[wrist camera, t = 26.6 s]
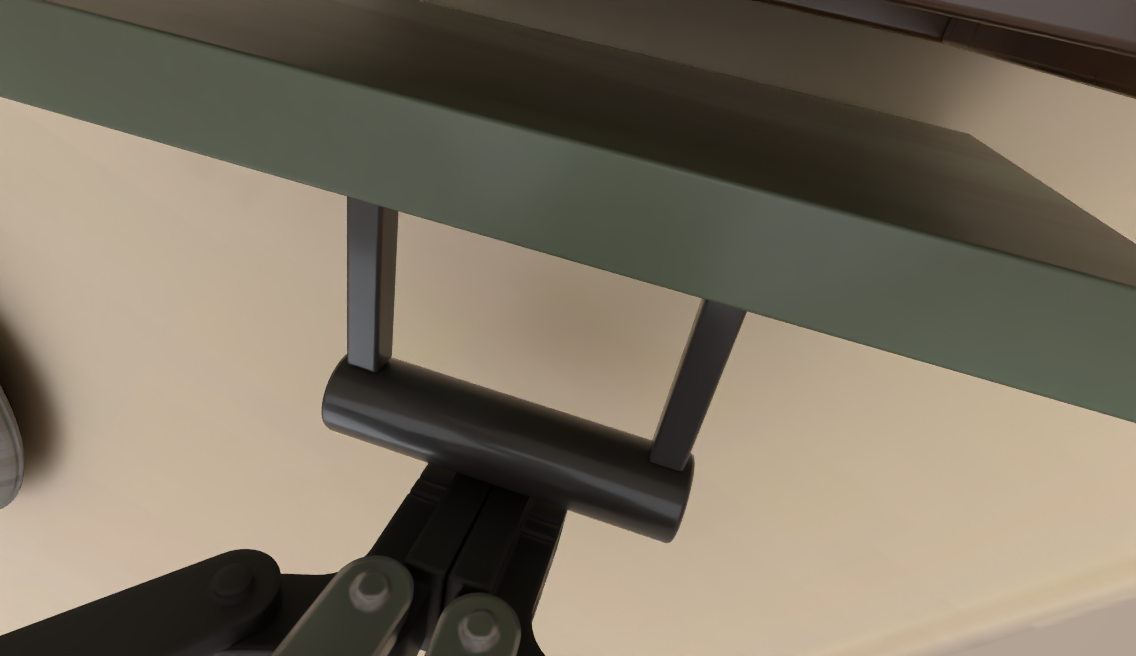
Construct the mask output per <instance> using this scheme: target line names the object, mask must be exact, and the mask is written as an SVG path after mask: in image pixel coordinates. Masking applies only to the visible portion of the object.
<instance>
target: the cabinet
mask: <svg viewBox="0 0 1136 656" xmlns="http://www.w3.org/2000/svg"><path fill="white" fill-rule="evenodd" d="M878 1H882V2H887V3H891V4H896V5H900V6H905V7H909V8H914V9H918V10H923V11H927V12H932V13H937V14H941V15H946V16H950V17H955V18H959V19H964V20H968V21H973V22H977V23H982V24H986V25H991V26H995V27H1000V28H1004V29H1009V30H1014V31H1018V32H1023V33H1027V34H1032V35H1036V36H1041V37H1045V38H1050V39H1054V40H1059V41H1063V42H1068V43H1072V44H1077V45H1081V46H1086V47H1090V48H1095V49H1100V50H1104V51H1109V52H1113V53H1118V54H1122V55H1127V56H1131V57H1136V0H878Z"/></svg>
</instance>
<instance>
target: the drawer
mask: <svg viewBox="0 0 1136 656" xmlns="http://www.w3.org/2000/svg"><path fill="white" fill-rule="evenodd" d="M753 1H757V2H761V3H766V4H770V5H775V6H779V7H784V8H788V9H792V10H797V11H801V12H806V13H810V14H814V15H819V16H823V17H828V18H832V19H837V20H841V21H845V22H850V23H854V24H859V25H863V26H868V27H872V28H876V29H881V30H885V31H890V32H894V33H898V34H903V35H907V36H912V37H916V38H921V39H925V40H929V41H934V42H938V43H943V44H946V45H950V46H953V47H956V48H960V49H963V50H967V51H970V52H974V53H977V54H981V55H984V56H988V57H991V58H995V59H998V60H1002V61H1005V62H1009V63H1012V64H1016V65H1019V66H1022V67H1026V68H1029V69H1033V70H1036V71H1040V72H1043V73H1047V74H1050V75H1054V76H1057V77H1061V78H1064V79H1068V80H1071V81H1075V82H1078V83H1082V84H1085V85H1088V86H1092V87H1095V88H1099V89H1102V90H1106V91H1109V92H1113V93H1116V94H1120V95H1123V96H1127V97H1130V98H1134V99H1136V57H1131V56H1127V55H1122V54H1118V53H1113V52H1109V51H1104V50H1100V49H1095V48H1090V47H1086V46H1081V45H1077V44H1072V43H1068V42H1063V41H1059V40H1054V39H1050V38H1045V37H1041V36H1036V35H1032V34H1027V33H1023V32H1018V31H1014V30H1009V29H1004V28H1000V27H995V26H991V25H986V24H982V23H977V22H973V21H968V20H964V19H959V18H955V17H950V16H946V15H941V14H937V13H932V12H927V11H923V10H918V9H914V8H909V7H905V6H900V5H896V4H891V3H887V2H882V1H878V0H753ZM0 97H3V98H7V99H10V100H14V101H17V102H21V103H24V104H28V105H31V106H35V107H38V108H42V109H45V110H49V111H52V112H56V113H59V114H63V115H66V116H70V117H73V118H77V119H80V120H83V121H87V122H90V123H94V124H97V125H101V126H104V127H108V128H111V129H115V130H118V131H122V132H125V133H129V134H132V135H136V136H139V137H143V138H146V139H150V140H153V141H157V142H160V143H164V144H167V145H170V146H174V147H177V148H181V149H184V150H188V151H191V152H195V153H198V154H202V155H205V156H209V157H212V158H216V159H219V160H223V161H226V162H230V163H233V164H237V165H240V166H244V167H247V168H251V169H254V170H257V171H261V172H264V173H268V174H271V175H275V176H278V177H282V178H285V179H289V180H292V181H296V182H299V183H303V184H306V185H310V186H313V187H317V188H320V189H324V190H327V191H331V192H334V193H338V194H341V195H344V196H347V354H346V355H345V356H344V357H343V358H342V359H341V361H340V362H339V363H338V365H337V366H336V368H335V369H334V371H333V373H332V375H331V377H330V379H329V381H328V384H327V387H326V390H325V393H324V397H323V402H322V419H323V422H324V424H325V425H326V426H327V427H328V428H329V429H330V430H333V431H336V432H339V433H342V434H344V435H347V436H350V437H353V438H356V439H359V440H362V441H365V442H368V443H371V444H374V445H377V446H380V447H383V448H386V449H389V450H392V451H395V452H398V453H401V454H404V455H407V456H410V457H413V458H415V459H418V460H421V461H424V462H427V463H430V464H433V465H436V466H439V467H442V468H445V469H448V470H451V471H454V472H457V473H460V474H463V475H466V476H469V477H472V478H475V479H478V480H481V481H483V482H486V483H489V484H492V485H495V486H498V487H501V488H504V489H507V490H510V491H513V492H516V493H519V494H522V495H525V496H528V497H531V498H534V499H537V500H540V501H543V502H546V503H549V504H551V505H554V506H557V507H560V508H563V509H566V510H569V511H572V512H575V513H578V514H581V515H584V516H587V517H590V518H593V519H596V520H599V521H602V522H605V523H608V524H611V525H614V526H617V527H619V528H622V529H625V530H628V531H631V532H634V533H637V534H640V535H643V536H646V537H649V538H652V539H655V540H658V541H661V542H664V543H670V542H671V541H672V540H673V539H674V537H675V535H676V533H677V531H678V529H679V527H680V524H681V521H682V518H683V515H684V512H685V509H686V506H687V502H688V498H689V494H690V490H691V486H692V481H693V475H694V467H695V461H694V456H693V455H692V454H691V450H692V448H693V445H694V443H695V440H696V438H697V435H698V433H699V430H700V428H701V425H702V423H703V420H704V418H705V415H706V413H707V410H708V408H709V405H710V403H711V400H712V398H713V395H714V393H715V390H716V388H717V385H718V383H719V380H720V378H721V375H722V373H723V370H724V368H725V365H726V363H727V360H728V358H729V355H730V353H731V350H732V348H733V345H734V343H735V340H736V338H737V335H738V333H739V330H740V328H741V325H742V323H743V320H744V318H745V315H746V313H747V311H748V312H752V313H755V314H759V315H762V316H766V317H769V318H772V319H776V320H779V321H783V322H786V323H790V324H793V325H797V326H800V327H804V328H807V329H811V330H814V331H818V332H821V333H825V334H828V335H832V336H835V337H839V338H842V339H846V340H849V341H853V342H856V343H859V344H863V345H866V346H870V347H873V348H877V349H880V350H884V351H887V352H891V353H894V354H898V355H901V356H905V357H908V358H912V359H915V360H919V361H922V362H926V363H929V364H933V365H936V366H940V367H943V368H946V369H950V370H953V371H957V372H960V373H964V374H967V375H971V376H974V377H978V378H981V379H985V380H988V381H992V382H995V383H999V384H1002V385H1006V386H1009V387H1013V388H1016V389H1020V390H1023V391H1027V392H1030V393H1033V394H1037V395H1040V396H1044V397H1047V398H1051V399H1054V400H1058V401H1061V402H1065V403H1068V404H1072V405H1075V406H1079V407H1082V408H1086V409H1089V410H1093V411H1096V412H1100V413H1103V414H1107V415H1110V416H1114V417H1117V418H1120V419H1124V420H1127V421H1131V422H1134V423H1136V244H1135V243H1133V242H1132V241H1130V240H1129V239H1127V238H1126V237H1124V236H1123V235H1121V234H1120V233H1118V232H1117V231H1115V230H1114V229H1112V228H1111V227H1109V226H1107V225H1106V224H1104V223H1103V222H1101V221H1100V220H1098V219H1097V218H1095V217H1094V216H1092V215H1091V214H1089V213H1088V212H1086V211H1085V210H1083V209H1082V208H1080V207H1079V206H1077V205H1076V204H1074V203H1073V202H1071V201H1070V200H1068V199H1067V198H1065V197H1064V196H1062V195H1061V194H1059V193H1058V192H1056V191H1055V190H1053V189H1051V188H1050V187H1048V186H1047V185H1045V184H1044V183H1042V182H1041V181H1039V180H1038V179H1036V178H1035V177H1033V176H1032V175H1030V174H1029V173H1027V172H1026V171H1024V170H1023V169H1021V168H1020V167H1018V166H1017V165H1015V164H1014V163H1012V162H1011V161H1009V160H1008V159H1006V158H1005V157H1003V156H1002V155H1000V154H999V153H997V152H995V151H994V150H992V149H991V148H989V147H988V146H986V145H985V144H983V143H982V142H980V141H979V140H977V139H976V138H974V137H973V136H971V135H970V134H967V133H963V132H959V131H955V130H950V129H946V128H942V127H938V126H934V125H930V124H926V123H922V122H917V121H913V120H909V119H905V118H901V117H897V116H893V115H889V114H884V113H880V112H876V111H872V110H868V109H864V108H860V107H855V106H851V105H847V104H843V103H839V102H835V101H831V100H827V99H822V98H818V97H814V96H810V95H806V94H802V93H798V92H794V91H789V90H785V89H781V88H777V87H773V86H769V85H765V84H760V83H756V82H752V81H748V80H744V79H740V78H736V77H732V76H727V75H723V74H719V73H715V72H711V71H707V70H703V69H699V68H694V67H690V66H686V65H682V64H678V63H674V62H670V61H665V60H661V59H657V58H653V57H649V56H645V55H641V54H637V53H632V52H628V51H624V50H620V49H616V48H612V47H608V46H604V45H599V44H595V43H591V42H587V41H583V40H579V39H575V38H570V37H566V36H562V35H558V34H554V33H550V32H546V31H542V30H537V29H533V28H529V27H525V26H521V25H517V24H513V23H509V22H504V21H500V20H496V19H492V18H488V17H484V16H480V15H475V14H471V13H467V12H463V11H459V10H455V9H451V8H447V7H442V6H438V5H434V4H430V3H426V2H422V1H418V0H0ZM398 211H400V212H404V213H407V214H411V215H414V216H418V217H421V218H424V219H428V220H431V221H435V222H438V223H442V224H445V225H449V226H452V227H456V228H459V229H463V230H466V231H470V232H473V233H477V234H480V235H484V236H487V237H491V238H494V239H498V240H501V241H505V242H508V243H511V244H515V245H518V246H522V247H525V248H529V249H532V250H536V251H539V252H543V253H546V254H550V255H553V256H557V257H560V258H564V259H567V260H571V261H574V262H578V263H581V264H585V265H588V266H592V267H595V268H598V269H602V270H605V271H609V272H612V273H616V274H619V275H623V276H626V277H630V278H633V279H637V280H640V281H644V282H647V283H651V284H654V285H658V286H661V287H665V288H668V289H672V290H675V291H679V292H682V293H685V294H689V295H692V296H696V297H699V298H702V300H701V302H700V305H699V308H698V311H697V314H696V317H695V320H694V322H693V325H692V328H691V331H690V334H689V337H688V340H687V342H686V345H685V348H684V351H683V354H682V357H681V360H680V362H679V365H678V368H677V371H676V374H675V377H674V380H673V382H672V385H671V388H670V391H669V394H668V397H667V400H666V403H665V405H664V408H663V411H662V414H661V417H660V420H659V423H658V425H657V428H656V431H655V434H654V437H653V440H649V439H646V438H643V437H639V436H636V435H633V434H630V433H627V432H624V431H621V430H617V429H614V428H611V427H608V426H605V425H602V424H599V423H595V422H592V421H589V420H586V419H583V418H580V417H577V416H574V415H570V414H567V413H564V412H561V411H558V410H555V409H552V408H548V407H545V406H542V405H539V404H536V403H533V402H530V401H526V400H523V399H520V398H517V397H514V396H511V395H508V394H504V393H501V392H498V391H495V390H492V389H489V388H486V387H483V386H479V385H476V384H473V383H470V382H467V381H464V380H461V379H457V378H454V377H451V376H448V375H445V374H442V373H439V372H435V371H432V370H429V369H426V368H423V367H420V366H417V365H413V364H410V363H407V362H404V361H401V360H398V359H395V358H391V356H392V341H393V319H394V297H395V275H396V253H397V231H398Z"/></svg>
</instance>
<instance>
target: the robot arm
mask: <svg viewBox="0 0 1136 656" xmlns="http://www.w3.org/2000/svg"><path fill="white" fill-rule="evenodd" d="M566 513H567V510H566V509H563V508H560V507H557V506H554V505H551V504H549V503H546V502H543V501H540V500H537V499H534V498H531V497H528V496H525V495H522V494H519V493H516V492H513V491H510V490H507V489H504V488H501V487H498V486H495V485H492V484H489V483H486V482H483V481H481V480H478V479H475V478H472V477H469V476H466V475H463V474H460V473H457V472H454V471H451V470H448V469H445V468H442V467H439V466H436V465H433V464H430V463H428V465H427V466H426V468H425V469H424V471H423V472H422V474H421V476H420V478H419V479H418V480H417V481H416V483H415V484H414V486H413V487H412V489H411V491H410V494H408V495H407V496H406V498H405V499H404V501H403V502H402V504H401V505H400V507H399V508H398V510H397V511H396V513H395V514H394V516H393V517H392V519H391V520H390V522H389V523H388V525H387V526H386V528H385V529H384V531H383V532H382V534H381V535H380V537H379V538H378V540H377V541H376V543H375V544H374V546H373V547H372V549H371V550H370V551H369V553H368V554H367V555H366V556H365V557H362V558H359V559H357V560H354V561H352V562H350V563H349V564H347V565H346V566H344V567H343V568H342V569H341V570H340V571H339V572H336V573H332V574H325V575H303V574H280V570H279V566H278V565H277V563H276V561H275V560H274V559H273V558H272V557H271V556H269V555H268V554H266V553H263V552H261V551H257V550H251V549H239V550H233V551H229V552H226V553H223V554H220V555H217V556H214V557H212V558H209V559H206V560H204V561H201V562H198V563H196V564H193V565H190V566H188V567H185V568H182V569H179V570H177V571H174V572H171V573H169V574H166V575H163V576H161V577H158V578H155V579H152V580H150V581H147V582H144V583H142V584H139V585H136V586H134V587H131V588H128V589H125V590H123V591H120V592H117V593H115V594H112V595H109V596H107V597H104V598H101V599H98V600H96V601H93V602H90V603H88V604H85V605H82V606H80V607H77V608H74V609H71V610H69V611H66V612H63V613H61V614H58V615H55V616H53V617H50V618H47V619H44V620H42V621H39V622H36V623H34V624H31V625H28V626H26V627H23V628H20V629H17V630H15V631H12V632H9V633H7V634H4V635H1V636H0V656H417V654H418V652H419V650H420V649H421V650H423V651H426V653H425V656H545V655H544V653H543V652H542V651H541V649H540V648H539V646H538V644H537V642H536V640H535V637H534V634H533V630H532V621H533V618H534V615H535V612H536V609H537V606H538V603H539V600H540V597H541V594H542V591H543V588H544V585H545V582H546V579H547V576H548V573H549V570H550V567H551V564H552V561H553V558H554V556H555V553H556V550H557V546H558V542H559V539H560V535H561V531H562V528H563V524H564V521H565V517H566Z"/></svg>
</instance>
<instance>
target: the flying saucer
mask: <svg viewBox="0 0 1136 656" xmlns="http://www.w3.org/2000/svg"><path fill="white" fill-rule="evenodd" d="M23 476H24V451H23V444H22V439H21V435H20V431H19V428H18V425H17V422H16V419H15V416H14V413H13V411H12V408H11V406H10V404H9V402H8V400H7V397H6V395H5V394H4V392H3V390H2V388H1V386H0V509H2V508H4V507H5V506H7V505H8V504H9V503H11V502H12V501H13V500H14V498H15V497H16V496H17V494H18V492H19V490H20V488H21V485H22V481H23Z"/></svg>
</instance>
